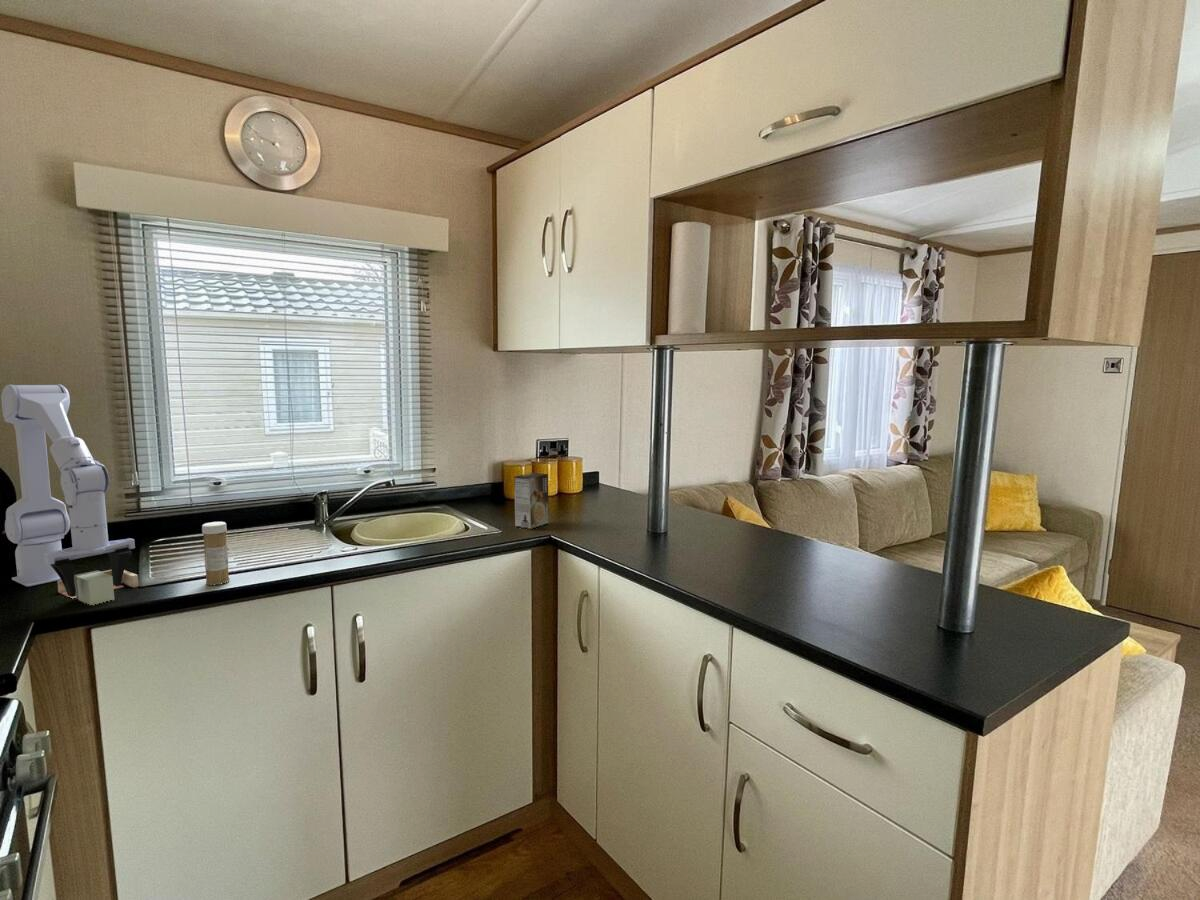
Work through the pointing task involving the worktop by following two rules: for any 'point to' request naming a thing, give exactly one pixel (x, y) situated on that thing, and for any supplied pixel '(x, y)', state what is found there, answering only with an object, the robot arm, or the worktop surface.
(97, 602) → the sage block
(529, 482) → the coffee box
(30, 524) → the robot arm
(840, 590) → the worktop surface
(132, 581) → the corner arena
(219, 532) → the sprinkles bottle
